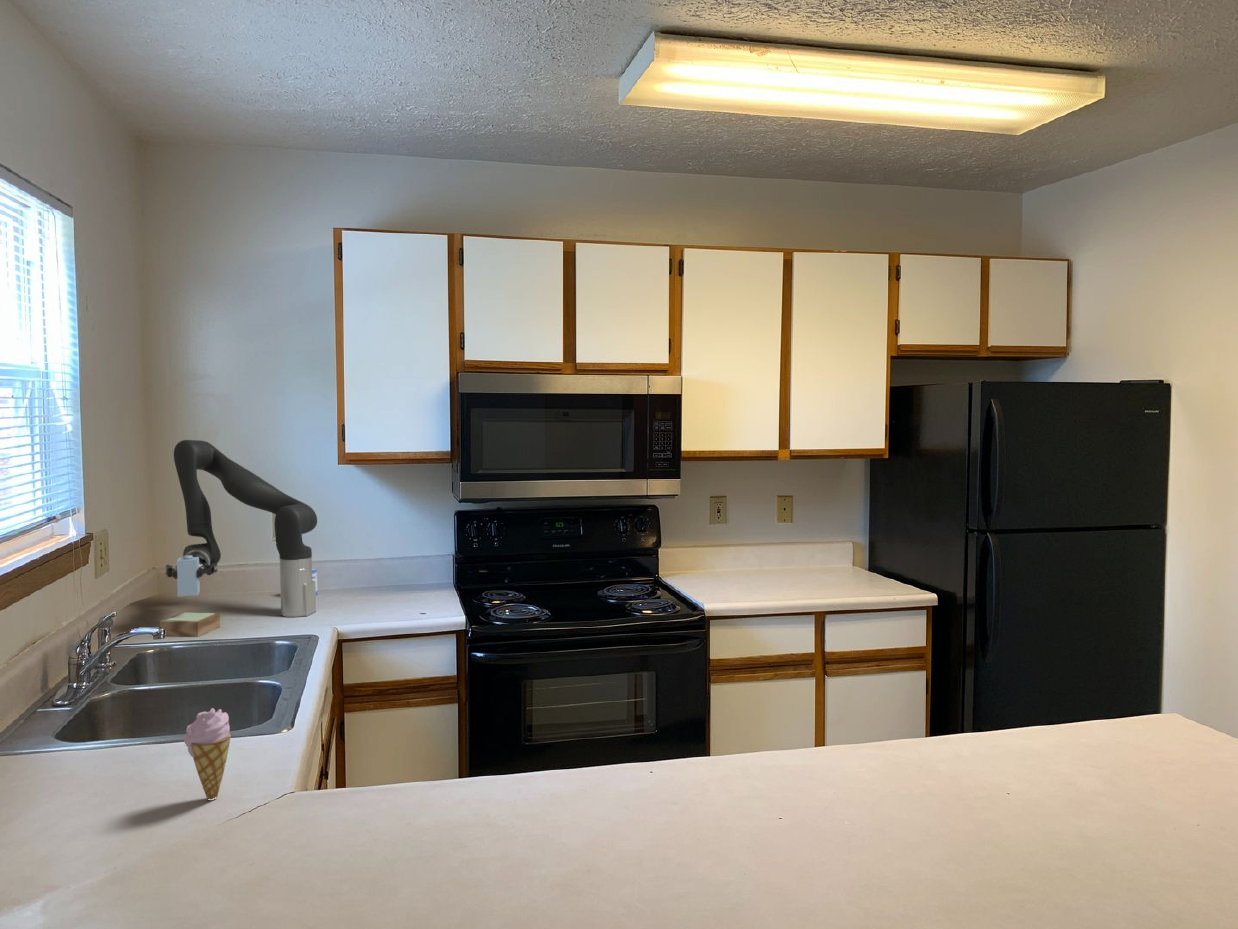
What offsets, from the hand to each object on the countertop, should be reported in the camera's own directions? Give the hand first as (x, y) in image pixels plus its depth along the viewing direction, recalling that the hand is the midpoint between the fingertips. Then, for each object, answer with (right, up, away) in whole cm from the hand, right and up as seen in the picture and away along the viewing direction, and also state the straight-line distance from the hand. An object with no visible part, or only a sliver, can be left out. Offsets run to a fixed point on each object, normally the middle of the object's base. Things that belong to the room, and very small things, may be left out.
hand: (187, 574), depth 245 cm
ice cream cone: (+54, -23, -104) cm, 119 cm away
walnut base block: (-1, -16, +3) cm, 17 cm away
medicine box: (+14, -14, +50) cm, 54 cm away
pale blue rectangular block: (-1, -6, +3) cm, 7 cm away
